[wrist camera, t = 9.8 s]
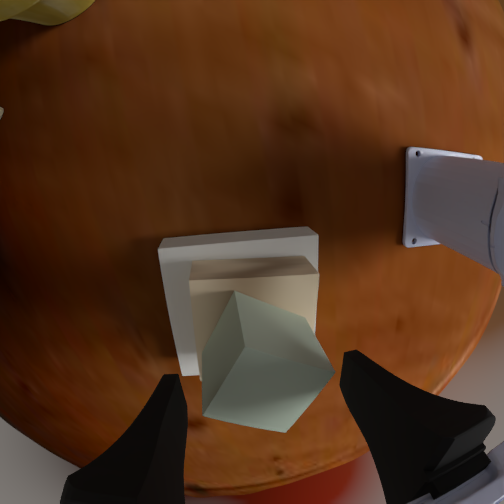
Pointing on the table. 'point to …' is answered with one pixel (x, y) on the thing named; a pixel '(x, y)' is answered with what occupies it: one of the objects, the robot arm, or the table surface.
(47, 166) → the table surface
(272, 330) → the sage block
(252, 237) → the grey base block
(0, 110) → the skincare box
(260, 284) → the beech top block
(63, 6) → the plant pot
